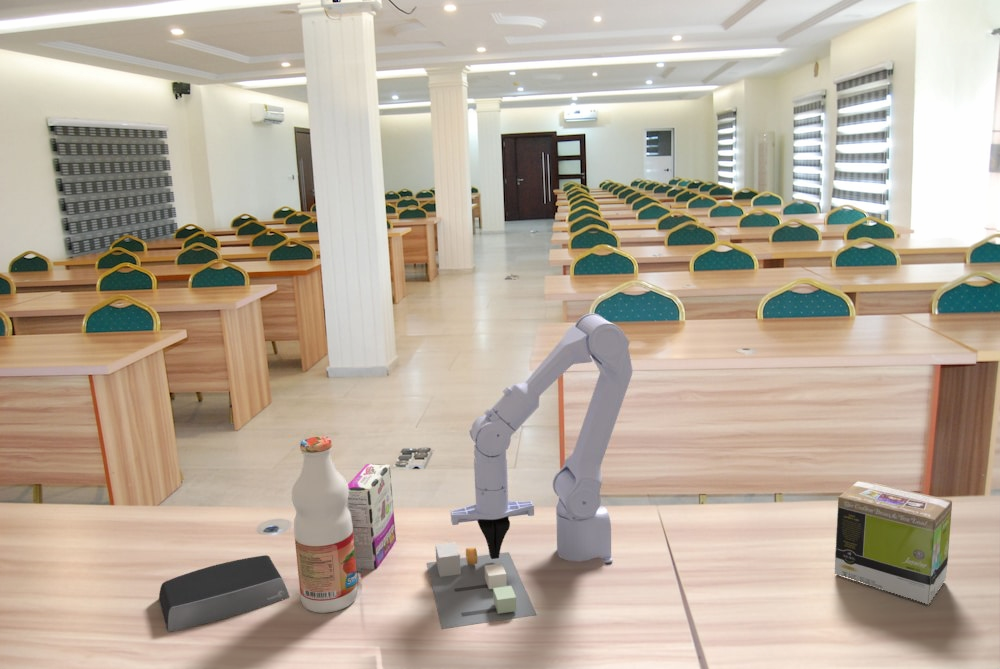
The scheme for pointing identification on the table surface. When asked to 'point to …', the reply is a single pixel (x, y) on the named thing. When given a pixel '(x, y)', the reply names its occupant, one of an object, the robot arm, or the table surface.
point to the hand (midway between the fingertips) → (494, 556)
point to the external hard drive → (220, 592)
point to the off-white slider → (495, 576)
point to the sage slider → (504, 599)
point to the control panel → (472, 588)
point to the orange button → (471, 555)
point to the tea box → (893, 539)
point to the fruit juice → (323, 531)
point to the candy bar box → (372, 515)
